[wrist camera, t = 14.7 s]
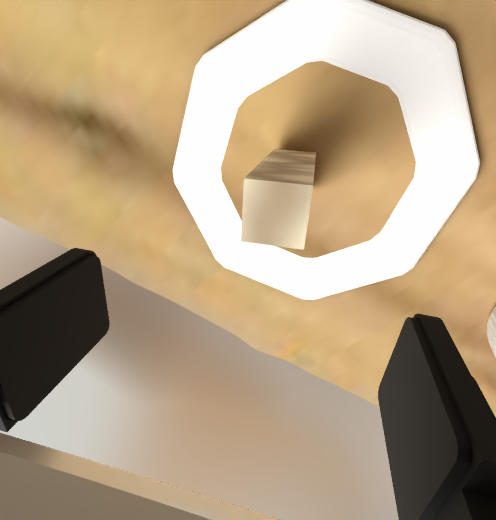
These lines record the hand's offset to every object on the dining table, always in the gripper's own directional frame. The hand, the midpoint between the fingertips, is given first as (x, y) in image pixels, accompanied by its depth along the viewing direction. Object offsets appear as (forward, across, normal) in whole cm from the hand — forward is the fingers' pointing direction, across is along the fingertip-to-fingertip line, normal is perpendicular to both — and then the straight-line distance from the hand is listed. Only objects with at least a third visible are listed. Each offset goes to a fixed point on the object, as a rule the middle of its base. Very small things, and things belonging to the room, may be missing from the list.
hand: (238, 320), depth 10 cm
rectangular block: (+25, +1, 0) cm, 25 cm away
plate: (+26, -1, 0) cm, 26 cm away
